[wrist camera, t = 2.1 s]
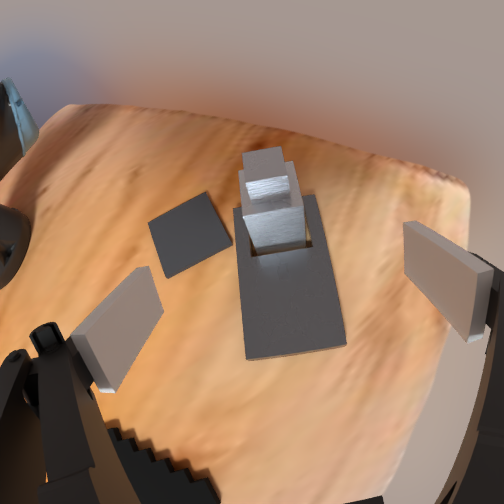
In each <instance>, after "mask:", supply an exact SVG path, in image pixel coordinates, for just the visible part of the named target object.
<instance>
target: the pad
mask: <svg viewBox="0 0 504 504" xmlns="http://www.w3.org/2000/svg"><path fill="white" fill-rule="evenodd" d="M148 225H149V228H150V232H151V235H152V238H153V241H154V244H155V247H156V250H157V253H158V256H159V259H160V262H161V265H162V268H163V271H164V274H165V276H166V278H168V279H169V278H170V277H172V276H174V275H176V274H178V273H180V272H182V271H184V270H186V269H188V268H190V267H191V266H193V265H195V264H197V263H199V262H201V261H203V260H205V259H207V258H209V257H211V256H213V255H215V254H216V253H218V252H220V251H222V250H224V249H226V248H228V247H230V246H232V243H231V241H230V239H229V237H228V235H227V233H226V231H225V229H224V227H223V225H222V223H221V221H220V219H219V218H218V216H217V214H216V212H215V210H214V208H213V206H212V204H211V202H210V200H209V198H208V196H207V194H206V192H204V193H202V194H200V195H198V196H197V197H195V198H193V199H191V200H189V201H187V202H185V203H183V204H181V205H180V206H178V207H176V208H174V209H172V210H170V211H168V212H167V213H165V214H163V215H161V216H159V217H157V218H156V219H154V220H152V221H150V222H148Z"/></svg>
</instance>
